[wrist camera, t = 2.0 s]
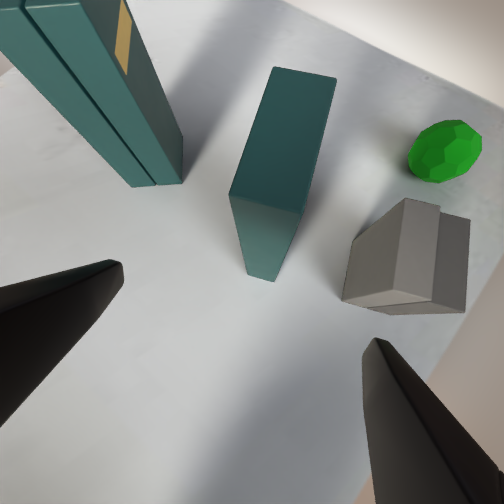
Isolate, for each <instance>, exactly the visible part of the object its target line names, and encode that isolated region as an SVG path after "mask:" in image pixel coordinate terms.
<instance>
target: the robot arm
mask: <svg viewBox="0 0 504 504" xmlns="http://www.w3.org/2000/svg"><path fill="white" fill-rule="evenodd" d="M123 283H124V274H123V266H122V263H121V262H119V261H115V260H112V259H108V260H104V261H100V262H96V263H93V264H89V265H85V266H81V267H77V268H73V269H69V270H66V271H62V272H58V273H54V274H50V275H46V276H42V277H38V278H35V279H31V280H27V281H23V282H19V283H15V284H11V285H7V286H4V287H0V427H1V426H2V425H3V424H4V423H5V422H6V421H7V420H8V418H9V417H10V416H11V415H12V414H13V413H14V412H15V411H16V410H17V408H18V407H19V406H20V405H21V404H22V403H23V402H24V401H25V400H26V399H27V397H28V396H29V395H30V394H31V393H32V392H33V391H34V390H35V389H36V387H37V386H38V385H39V384H40V383H41V382H42V381H43V380H44V379H45V377H46V376H47V375H48V374H49V373H50V372H51V371H52V370H53V369H54V368H55V366H56V365H57V364H58V363H59V362H60V361H61V360H62V359H63V358H64V356H65V355H66V354H67V353H68V352H69V351H70V350H71V349H72V348H73V346H74V345H75V344H76V343H77V342H78V341H79V340H80V339H81V338H82V337H83V335H84V334H85V333H86V332H87V331H88V330H89V329H90V328H91V327H92V325H93V324H94V323H95V322H96V321H97V319H98V318H99V317H100V316H101V314H102V313H103V312H104V310H105V309H106V308H107V306H108V305H109V304H110V302H111V301H112V300H113V298H114V297H115V295H116V294H117V293H118V291H119V290H120V289H121V287H122V286H123ZM362 384H363V409H364V418H365V426H366V433H367V441H368V448H369V456H370V464H371V471H372V479H373V485H374V494H375V500H376V501H375V502H376V504H504V473H503V472H502V471H499V469H498V467H497V465H496V464H495V463H494V462H493V461H492V460H491V459H490V457H489V456H488V455H487V454H486V453H485V452H484V450H483V449H482V448H481V447H480V446H479V445H478V444H477V442H476V441H475V440H474V439H473V438H472V437H471V436H470V434H469V433H468V432H467V431H466V430H465V429H464V427H462V425H461V424H460V423H459V422H458V421H457V420H456V418H455V417H454V416H453V415H452V414H451V412H450V411H449V410H448V409H447V408H446V407H445V406H444V405H443V403H442V402H441V401H440V400H439V399H438V398H437V396H436V395H435V394H434V393H433V392H432V391H431V390H430V388H429V387H428V386H427V385H426V384H425V383H424V381H423V380H422V379H421V378H420V377H419V376H418V375H417V373H416V372H415V371H414V370H413V369H412V368H411V367H410V365H409V364H408V363H407V362H406V361H405V360H404V358H403V357H402V356H401V355H400V354H399V353H398V352H397V350H396V349H395V348H394V347H393V346H392V345H391V344H390V342H388V341H386V340H383V339H380V338H373V339H372V341H371V342H370V344H369V345H368V347H367V348H366V350H365V351H364V353H363V356H362Z"/></svg>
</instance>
